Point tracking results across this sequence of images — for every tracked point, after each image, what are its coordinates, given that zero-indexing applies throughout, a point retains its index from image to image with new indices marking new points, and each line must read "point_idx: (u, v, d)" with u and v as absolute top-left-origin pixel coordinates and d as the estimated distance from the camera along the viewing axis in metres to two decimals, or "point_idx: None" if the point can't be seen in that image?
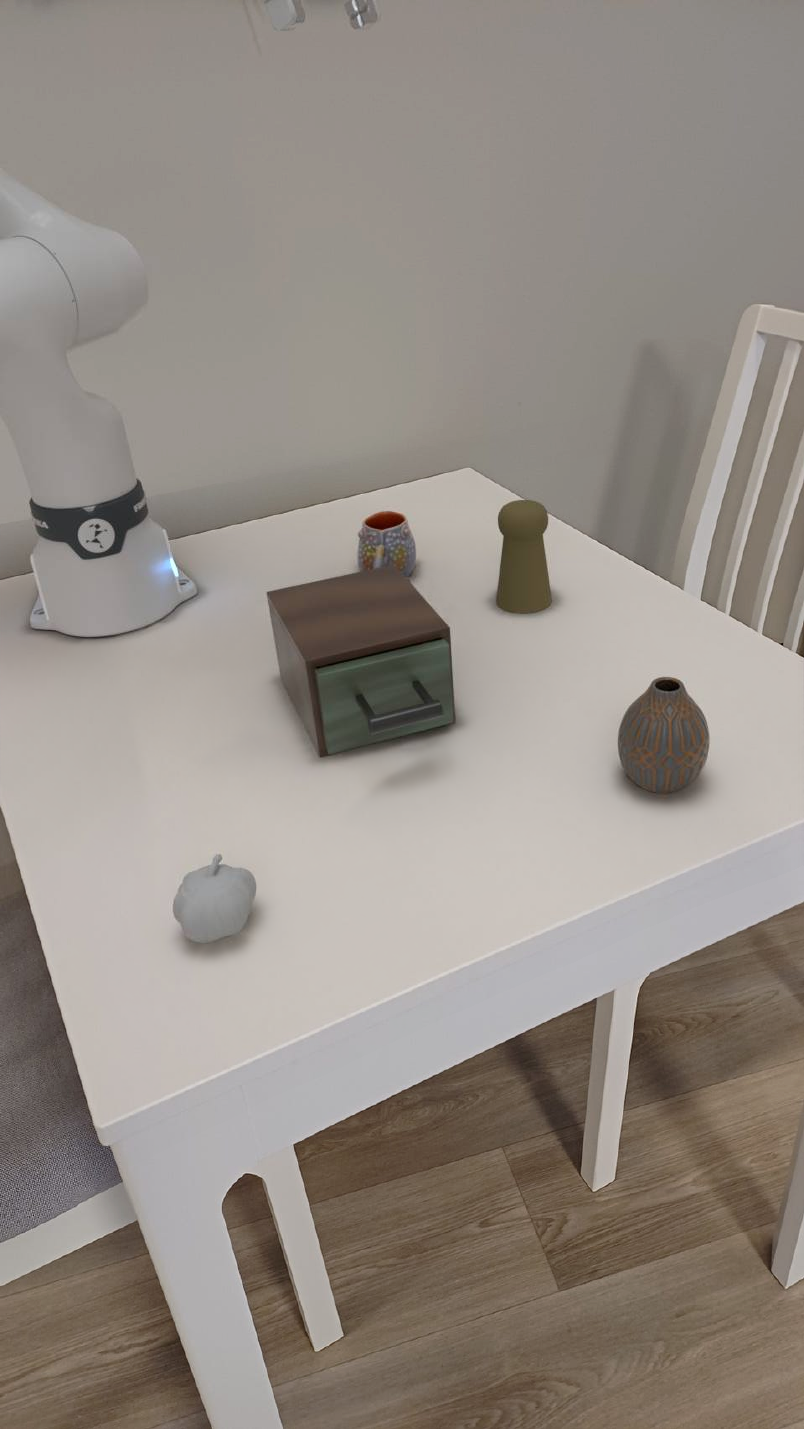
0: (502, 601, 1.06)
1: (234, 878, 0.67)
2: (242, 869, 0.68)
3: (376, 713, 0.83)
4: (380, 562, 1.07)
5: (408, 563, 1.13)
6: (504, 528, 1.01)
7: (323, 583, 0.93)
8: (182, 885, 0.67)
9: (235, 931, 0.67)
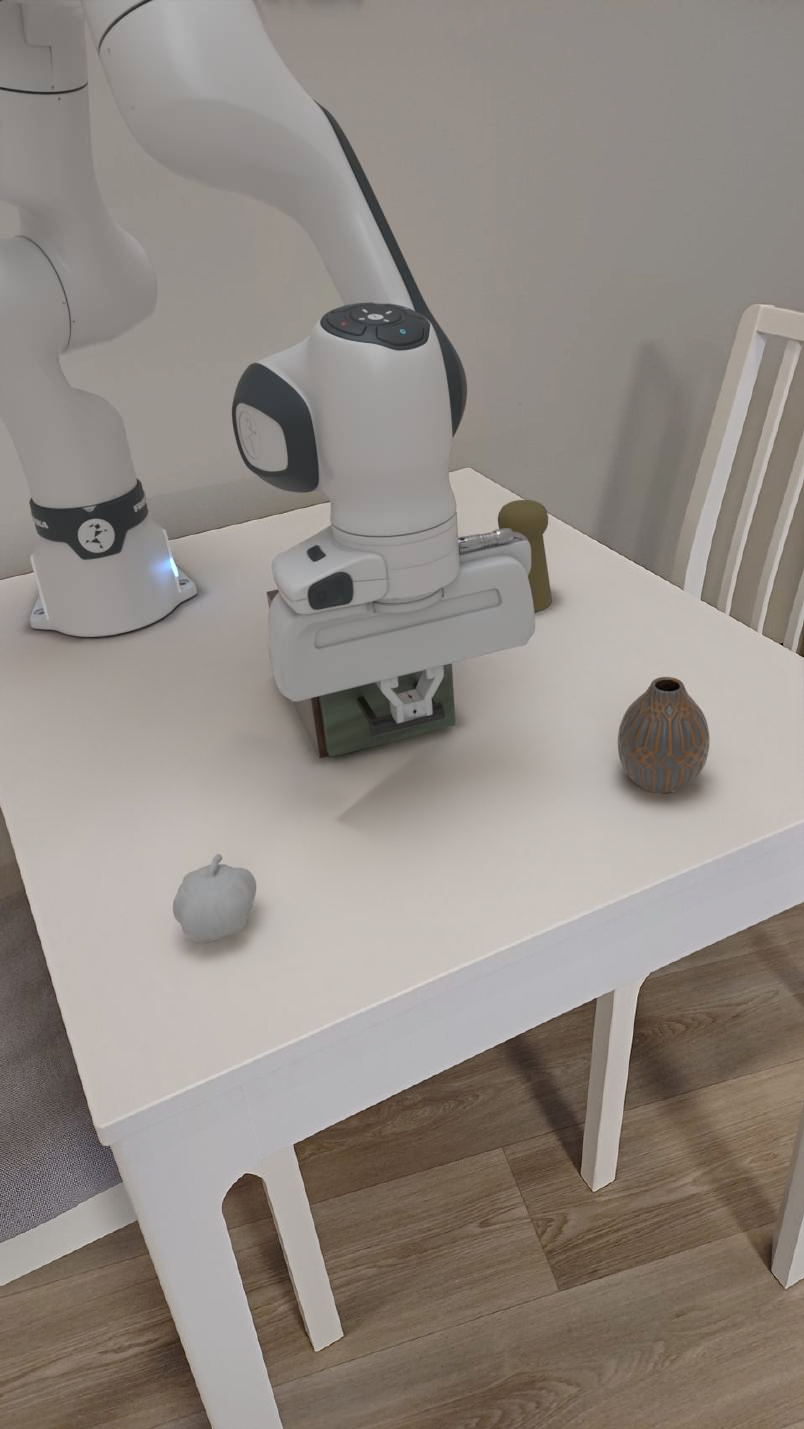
0: None
1: (234, 878, 0.67)
2: (242, 869, 0.68)
3: (378, 715, 0.83)
4: None
5: None
6: None
7: None
8: (182, 885, 0.67)
9: (235, 931, 0.67)
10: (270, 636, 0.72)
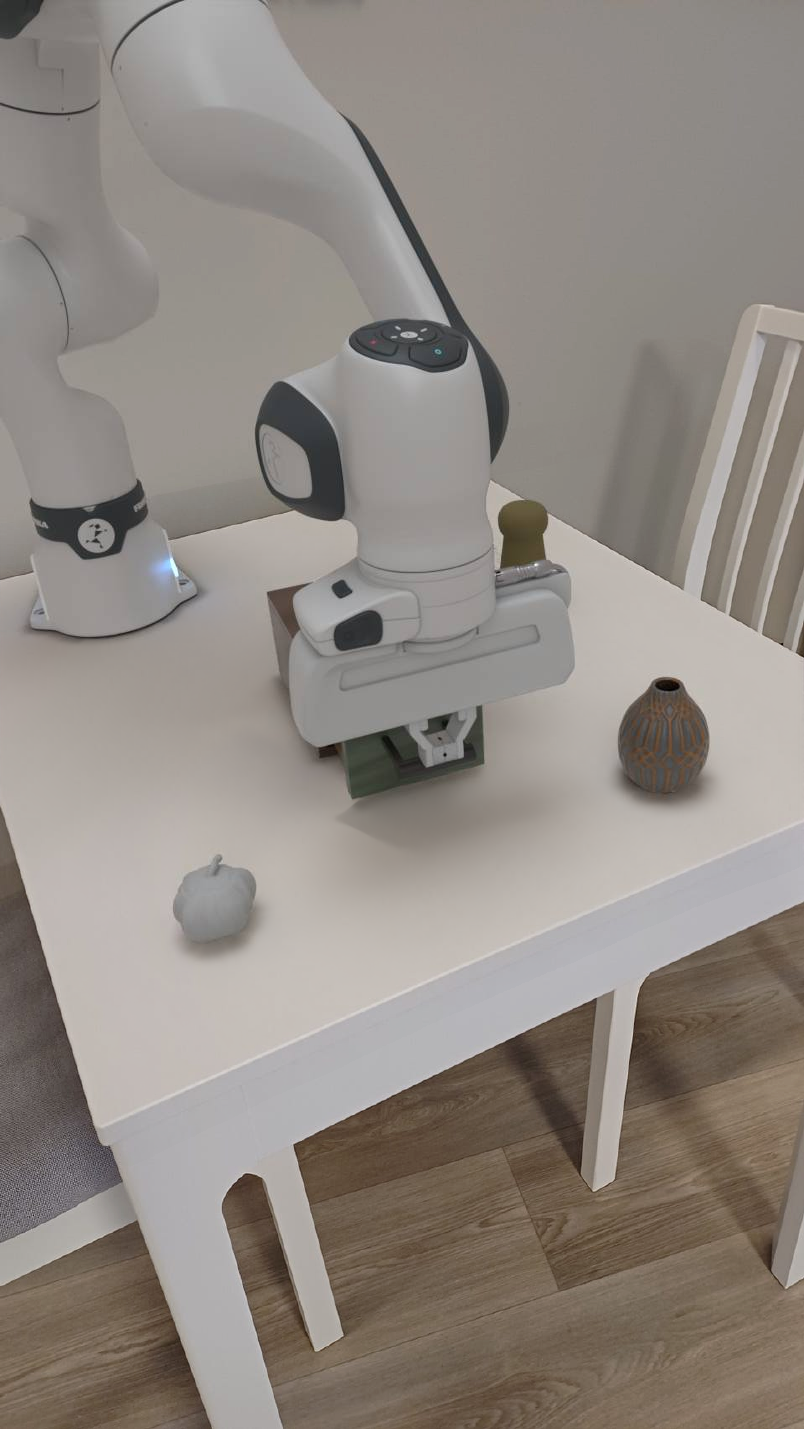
0: None
1: (234, 878, 0.67)
2: (242, 869, 0.68)
3: (403, 755, 0.78)
4: None
5: None
6: (504, 528, 1.01)
7: None
8: (182, 885, 0.67)
9: (235, 931, 0.67)
10: (291, 677, 0.66)
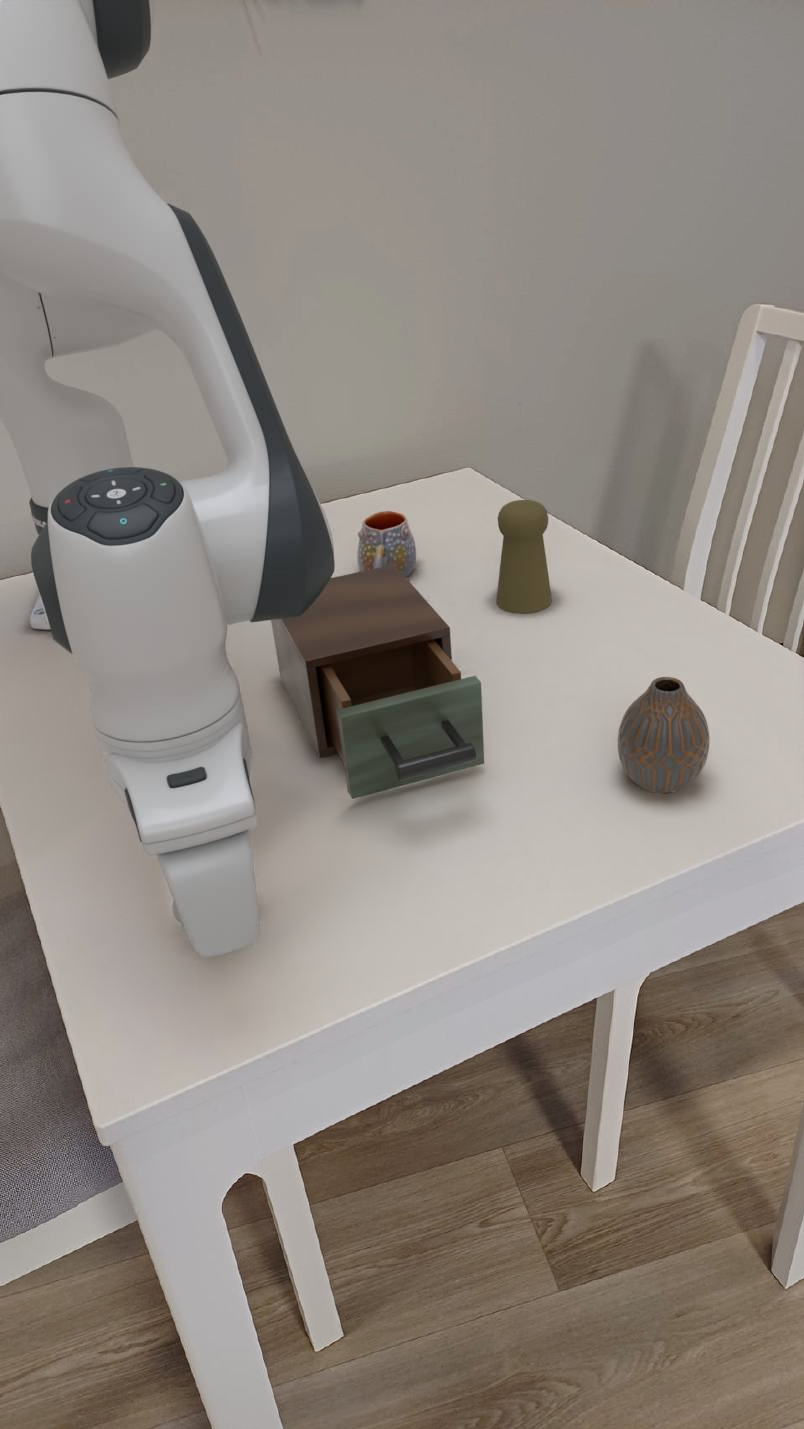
0: (502, 601, 1.06)
1: None
2: None
3: (403, 755, 0.78)
4: (380, 562, 1.07)
5: (408, 563, 1.13)
6: (504, 528, 1.01)
7: None
8: None
9: None
10: (198, 907, 0.55)
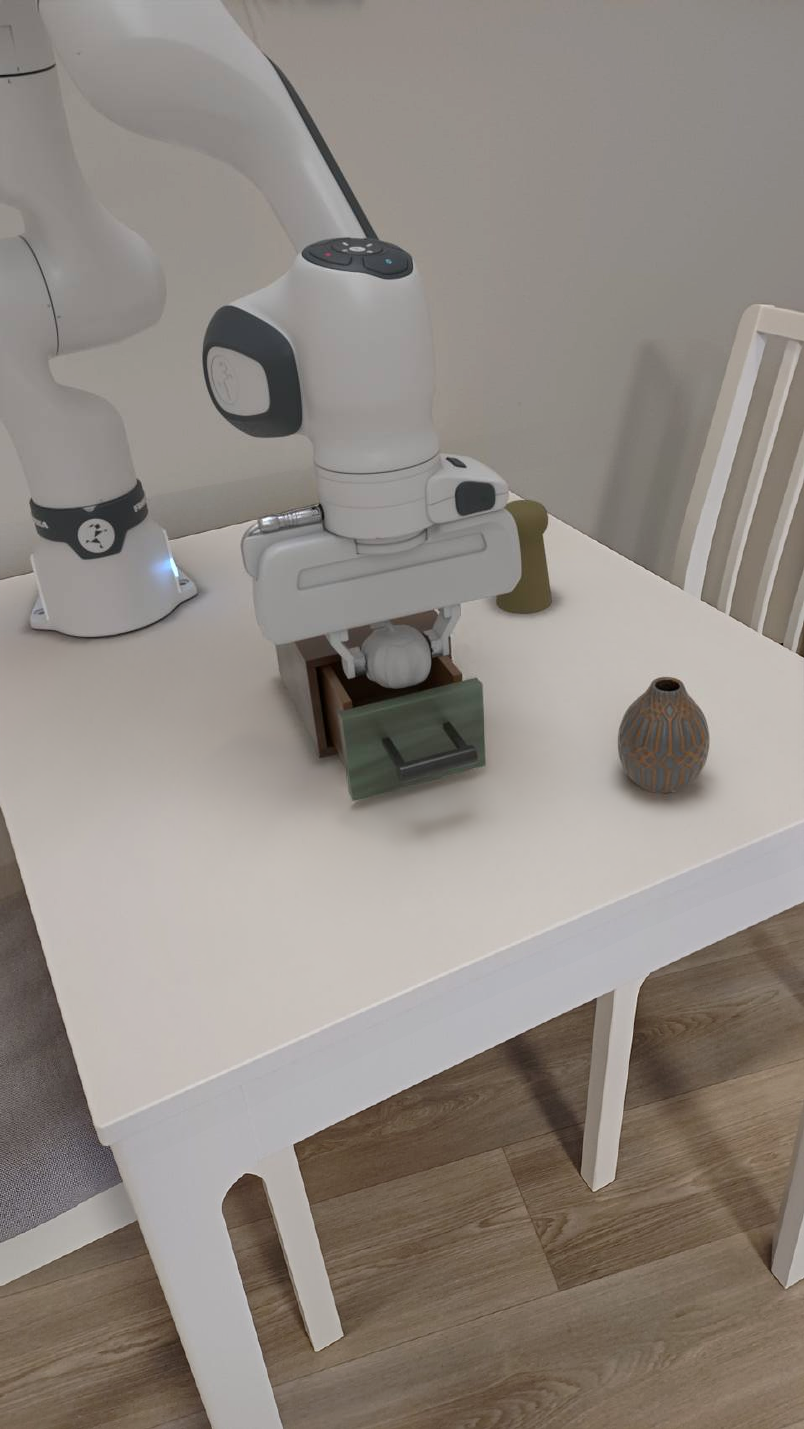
0: (502, 601, 1.06)
1: (392, 625, 0.77)
2: (376, 629, 0.78)
3: (404, 757, 0.78)
4: None
5: None
6: None
7: None
8: (394, 647, 0.75)
9: None
10: None
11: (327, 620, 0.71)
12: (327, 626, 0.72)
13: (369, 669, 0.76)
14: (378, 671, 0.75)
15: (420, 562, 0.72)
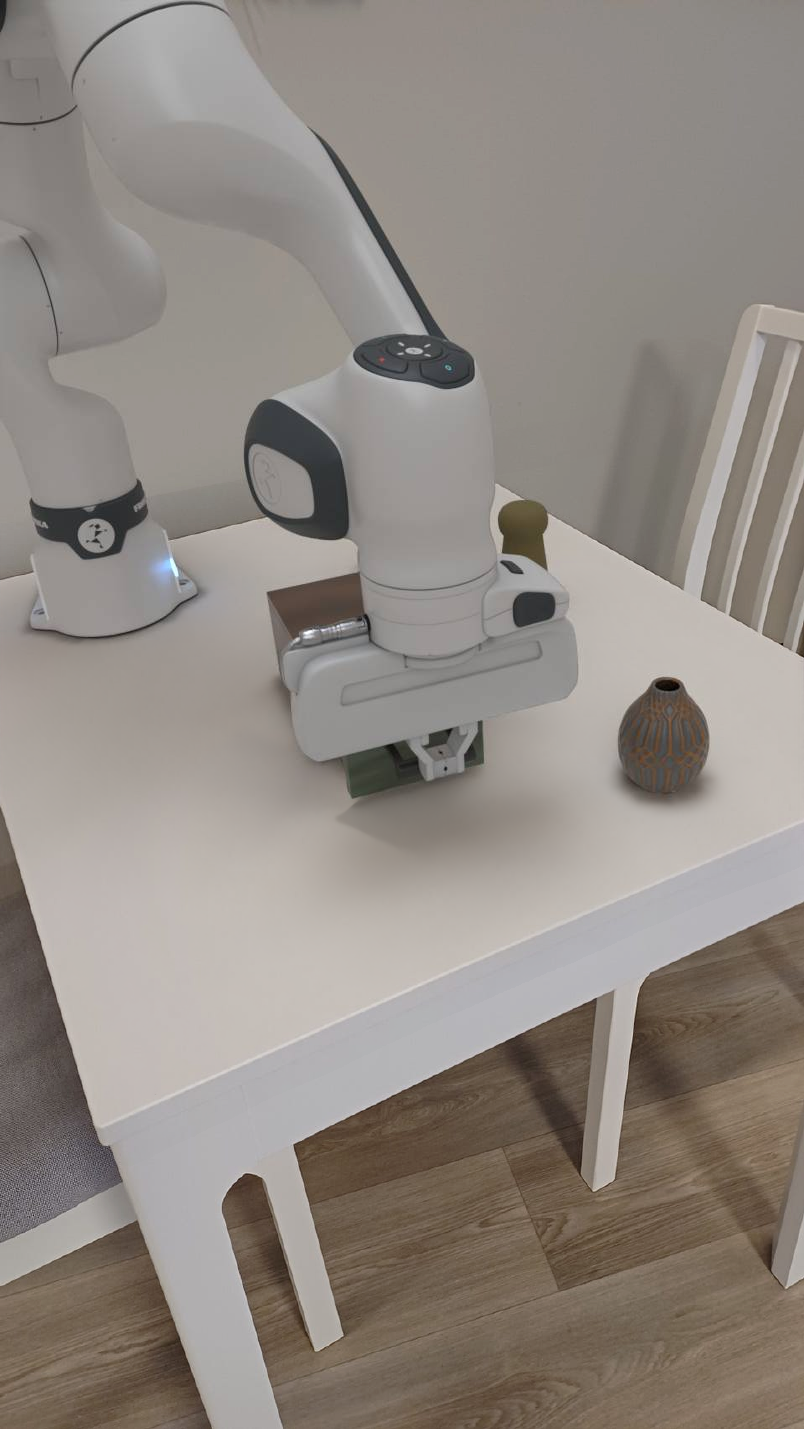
0: None
1: None
2: None
3: (403, 755, 0.78)
4: None
5: None
6: (504, 528, 1.01)
7: (323, 583, 0.93)
8: None
9: None
10: None
11: (371, 735, 0.66)
12: (371, 741, 0.67)
13: None
14: None
15: (472, 672, 0.67)
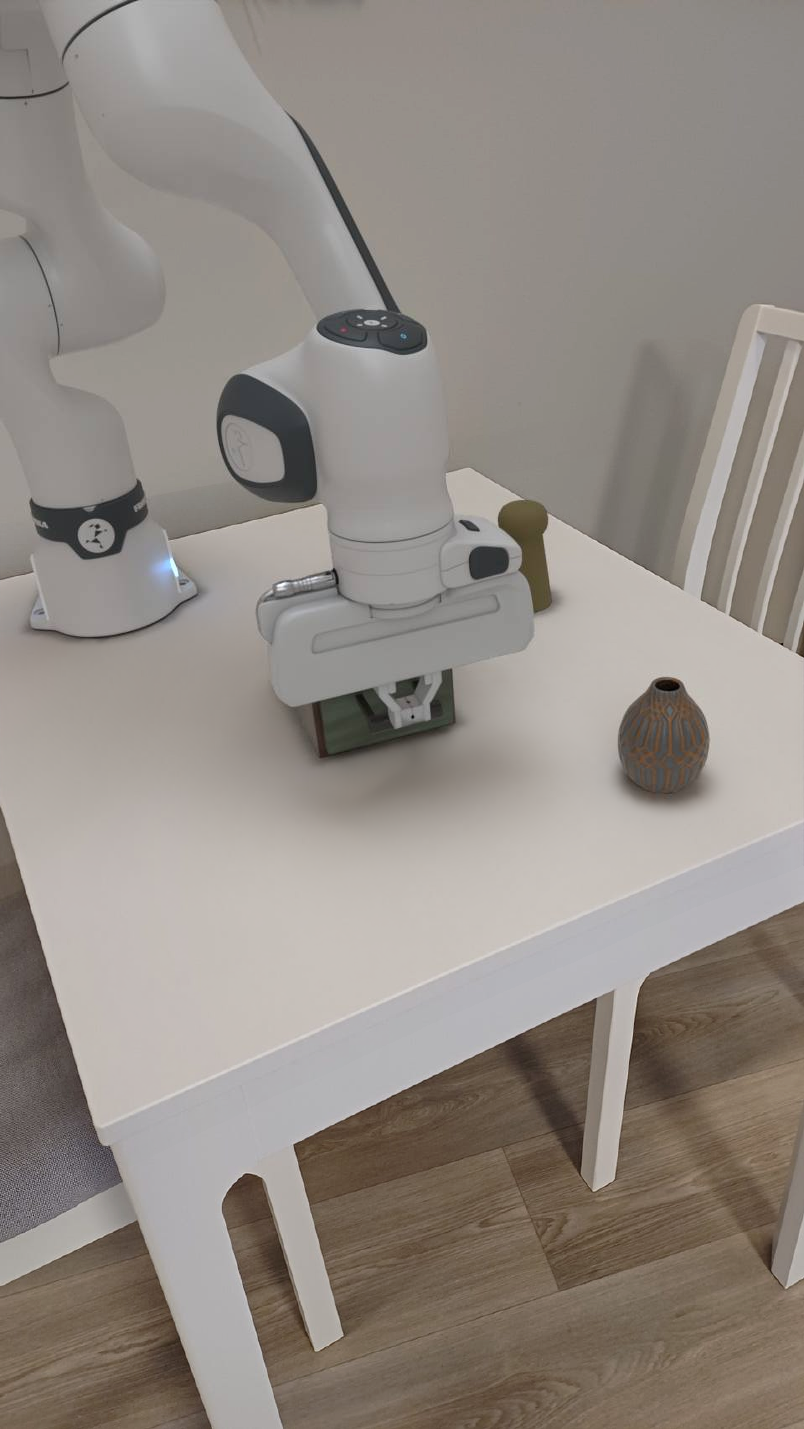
0: None
1: None
2: None
3: (376, 713, 0.83)
4: None
5: None
6: (504, 528, 1.01)
7: None
8: None
9: None
10: None
11: (341, 682, 0.72)
12: (341, 688, 0.72)
13: None
14: None
15: (434, 623, 0.72)
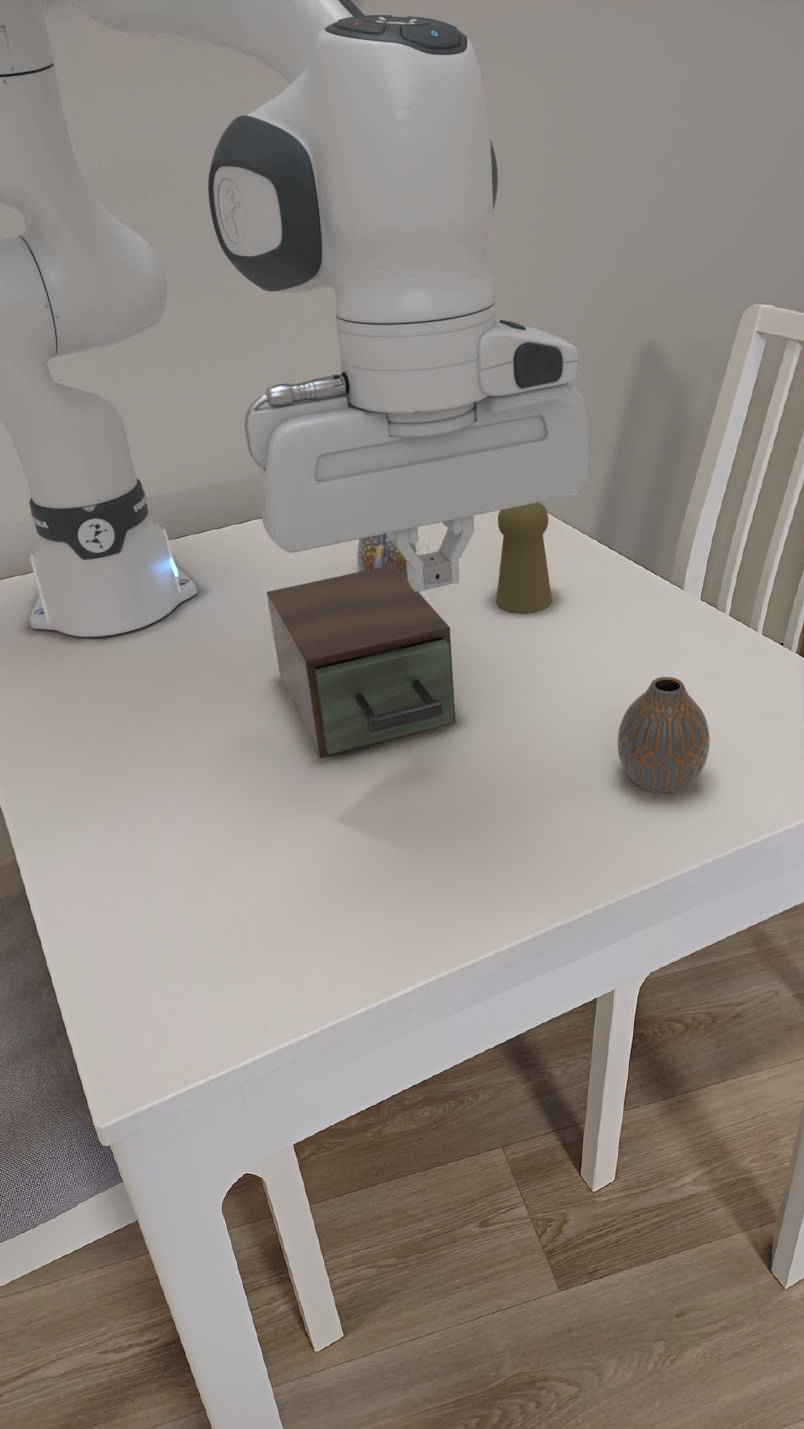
0: (502, 601, 1.06)
1: None
2: None
3: (376, 713, 0.83)
4: (380, 562, 1.07)
5: None
6: (504, 528, 1.01)
7: (323, 583, 0.93)
8: None
9: None
10: None
11: (351, 522, 0.58)
12: (351, 530, 0.58)
13: None
14: None
15: (467, 451, 0.58)
